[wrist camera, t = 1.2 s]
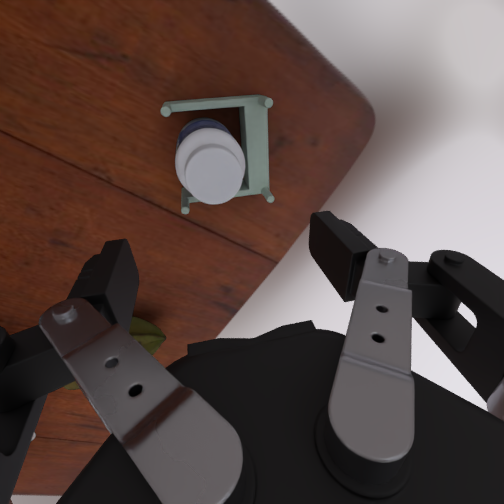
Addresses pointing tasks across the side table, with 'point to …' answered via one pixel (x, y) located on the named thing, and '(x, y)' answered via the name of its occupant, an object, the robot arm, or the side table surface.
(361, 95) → the side table surface
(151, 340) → the fruit
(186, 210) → the rack
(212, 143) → the pill bottle
